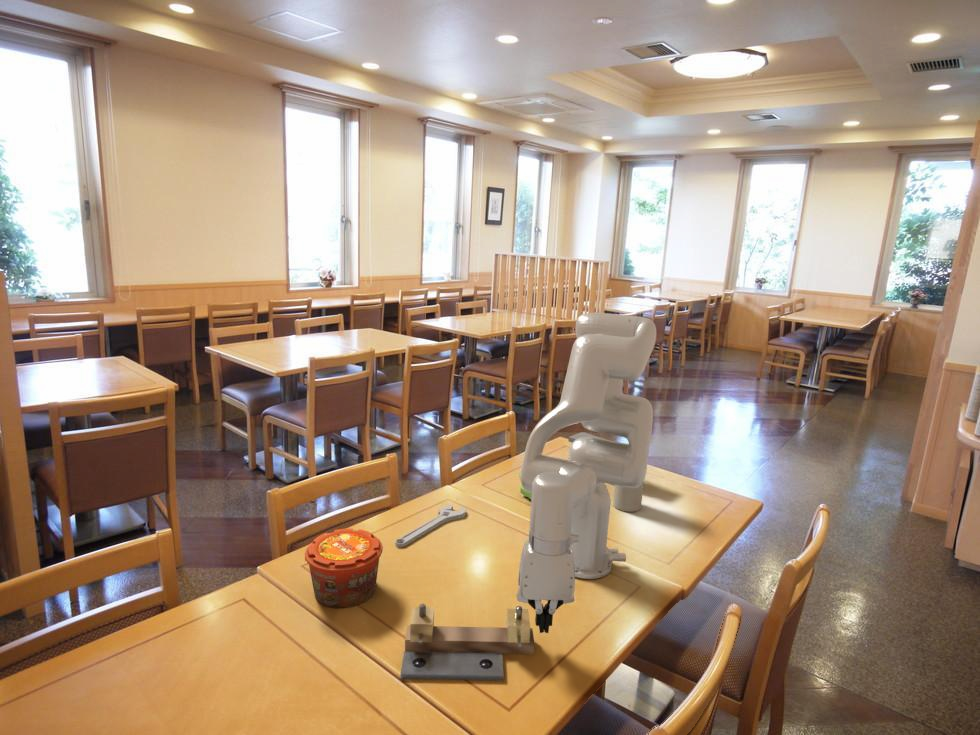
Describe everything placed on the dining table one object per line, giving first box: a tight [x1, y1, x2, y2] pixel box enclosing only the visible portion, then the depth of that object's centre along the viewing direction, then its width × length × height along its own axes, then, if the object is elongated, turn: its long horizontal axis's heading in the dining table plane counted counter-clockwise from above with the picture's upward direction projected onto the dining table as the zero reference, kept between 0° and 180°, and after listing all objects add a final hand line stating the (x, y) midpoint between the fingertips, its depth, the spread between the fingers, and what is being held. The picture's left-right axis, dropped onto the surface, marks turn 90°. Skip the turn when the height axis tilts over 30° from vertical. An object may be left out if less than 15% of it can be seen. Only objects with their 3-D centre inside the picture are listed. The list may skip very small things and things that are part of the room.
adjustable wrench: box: [394, 504, 467, 548], centre depth 155 cm, size 25×6×2 cm, turn 140°
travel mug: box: [612, 482, 645, 513], centre depth 169 cm, size 8×8×18 cm
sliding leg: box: [506, 605, 531, 647], centre depth 110 cm, size 4×7×6 cm, turn 1°
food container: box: [304, 527, 384, 609], centre depth 126 cm, size 16×16×11 cm
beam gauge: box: [404, 603, 535, 655], centre depth 110 cm, size 24×7×8 cm, turn 91°
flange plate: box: [399, 651, 504, 681], centre depth 106 cm, size 18×6×1 cm, turn 91°
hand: (543, 627), depth 111 cm, fingers closed
